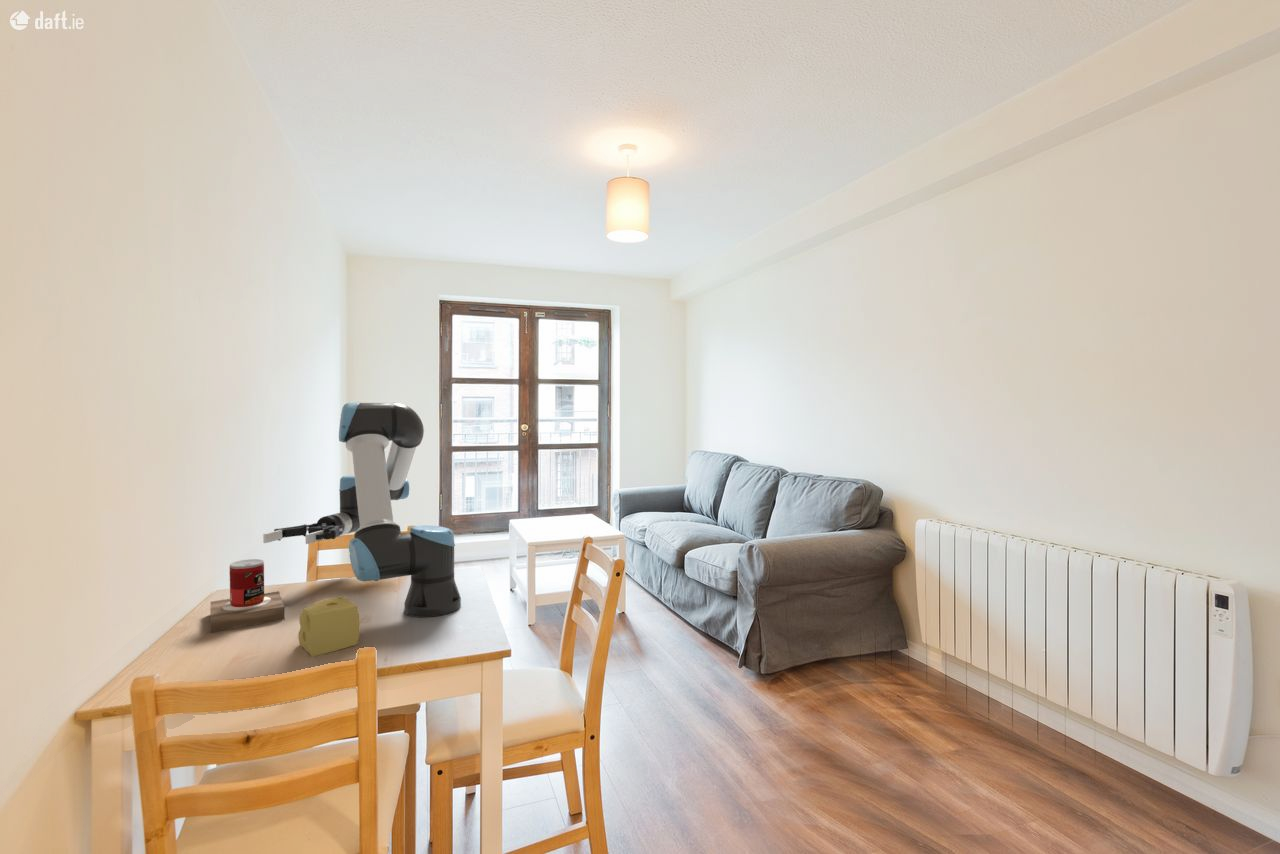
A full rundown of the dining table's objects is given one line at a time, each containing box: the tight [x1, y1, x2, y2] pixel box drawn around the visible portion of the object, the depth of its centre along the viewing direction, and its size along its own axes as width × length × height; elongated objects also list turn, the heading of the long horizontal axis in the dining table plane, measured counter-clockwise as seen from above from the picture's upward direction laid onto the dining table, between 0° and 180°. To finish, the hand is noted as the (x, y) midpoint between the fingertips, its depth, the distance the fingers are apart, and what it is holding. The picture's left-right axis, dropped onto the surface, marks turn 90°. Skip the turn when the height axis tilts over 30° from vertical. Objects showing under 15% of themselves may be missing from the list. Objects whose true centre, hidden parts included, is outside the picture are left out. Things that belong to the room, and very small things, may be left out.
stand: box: [209, 591, 286, 633], centre depth 158 cm, size 16×16×4 cm
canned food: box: [229, 558, 265, 607], centre depth 157 cm, size 8×8×11 cm
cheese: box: [297, 595, 361, 658], centre depth 139 cm, size 10×11×10 cm
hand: (285, 538), depth 170 cm, fingers open, 13 cm apart
